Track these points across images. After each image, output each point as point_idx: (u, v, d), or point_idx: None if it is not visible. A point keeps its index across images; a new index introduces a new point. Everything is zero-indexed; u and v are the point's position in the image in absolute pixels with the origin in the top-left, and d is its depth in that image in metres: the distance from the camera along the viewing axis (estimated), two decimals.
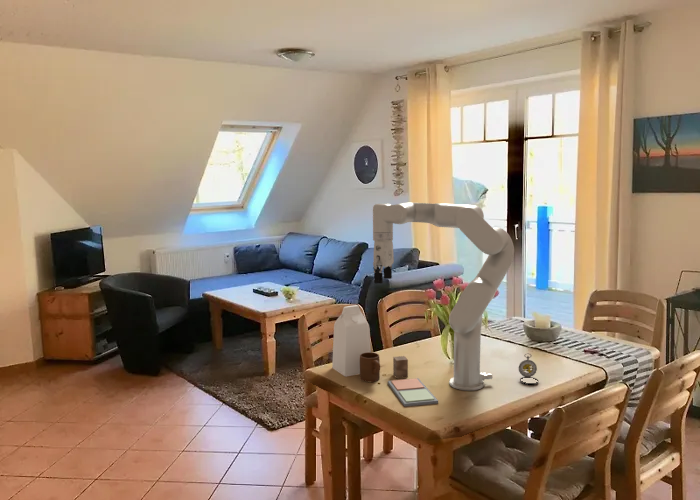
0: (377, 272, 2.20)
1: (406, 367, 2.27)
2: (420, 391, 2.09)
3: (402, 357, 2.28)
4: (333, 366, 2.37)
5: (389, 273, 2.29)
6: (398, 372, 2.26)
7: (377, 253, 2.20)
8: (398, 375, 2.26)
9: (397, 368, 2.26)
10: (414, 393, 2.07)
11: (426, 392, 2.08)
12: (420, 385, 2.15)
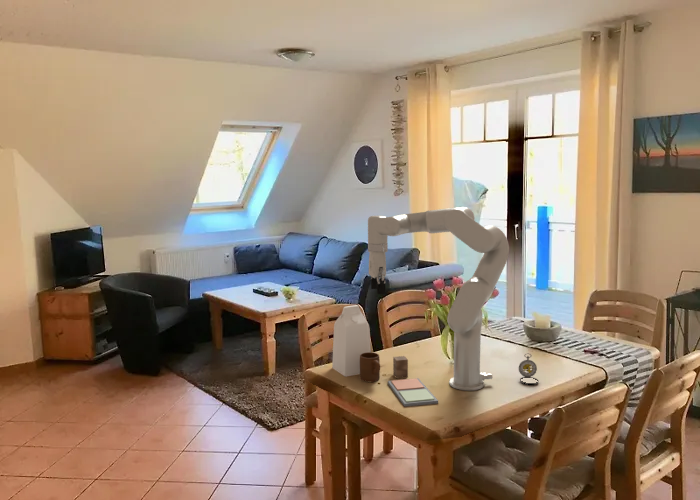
0: None
1: (406, 367, 2.27)
2: (420, 391, 2.09)
3: (402, 357, 2.28)
4: (333, 366, 2.37)
5: None
6: (398, 372, 2.26)
7: None
8: (398, 375, 2.26)
9: (397, 368, 2.26)
10: (414, 393, 2.07)
11: (426, 392, 2.08)
12: (420, 385, 2.15)
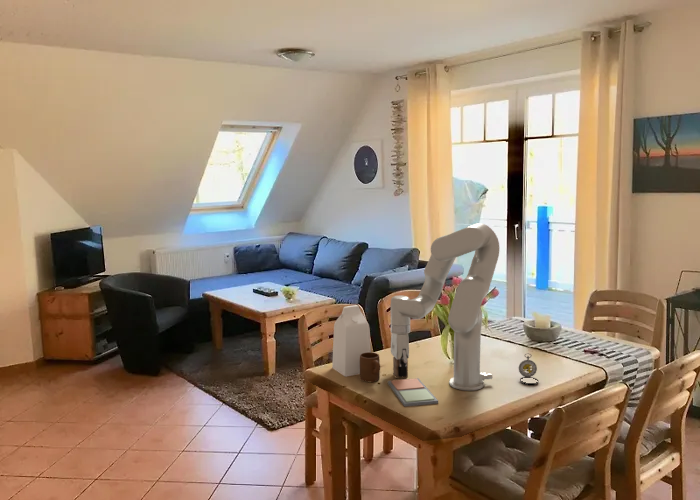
0: None
1: None
2: (420, 391, 2.09)
3: (402, 357, 2.28)
4: (333, 366, 2.37)
5: None
6: None
7: None
8: None
9: (397, 368, 2.26)
10: (414, 393, 2.07)
11: (426, 392, 2.08)
12: (420, 385, 2.15)
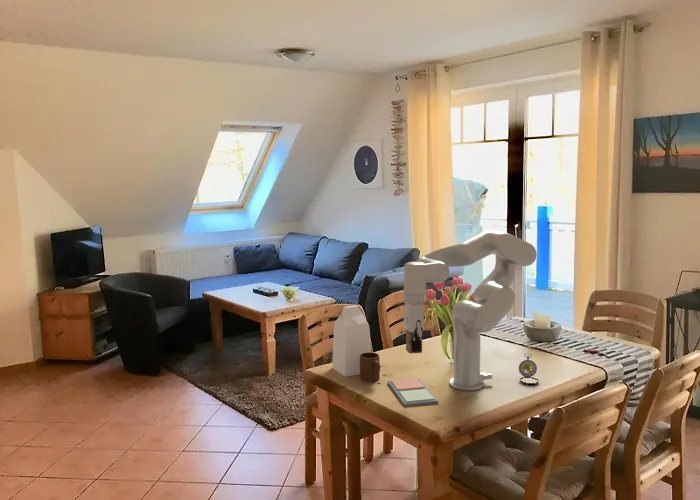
0: None
1: None
2: (420, 391, 2.09)
3: None
4: (333, 366, 2.37)
5: None
6: (411, 347, 2.03)
7: None
8: (411, 350, 2.03)
9: (410, 342, 2.03)
10: (414, 393, 2.07)
11: (426, 392, 2.08)
12: (420, 385, 2.15)
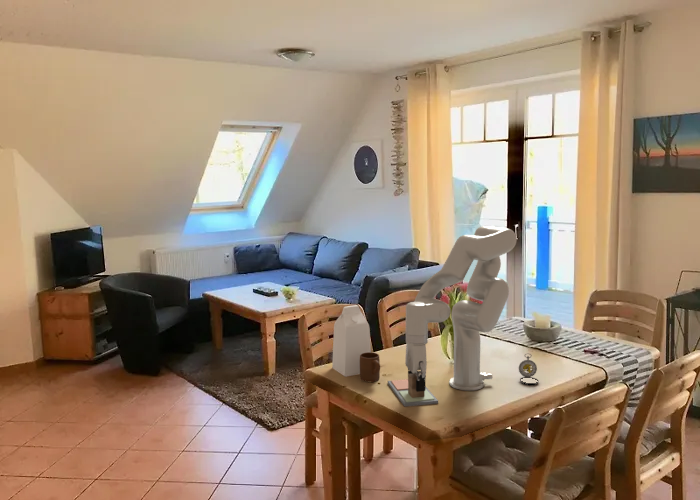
0: None
1: None
2: None
3: None
4: (333, 366, 2.37)
5: None
6: (414, 391, 2.03)
7: None
8: (414, 394, 2.03)
9: (413, 387, 2.03)
10: None
11: (426, 392, 2.08)
12: None
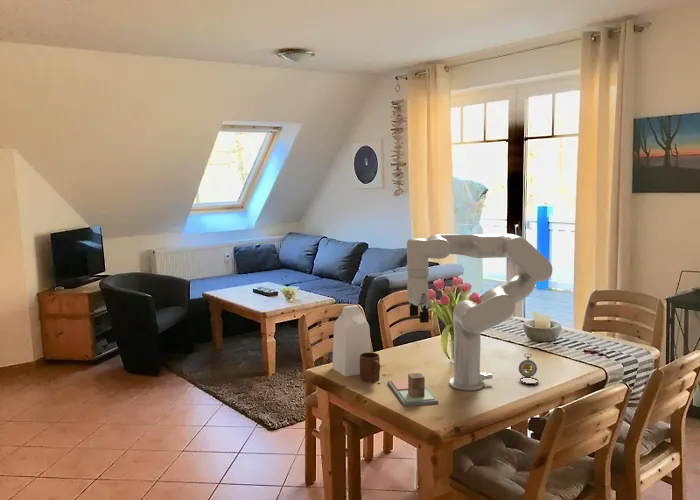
0: None
1: (423, 386, 2.03)
2: None
3: (418, 375, 2.05)
4: (333, 366, 2.37)
5: None
6: (414, 391, 2.03)
7: None
8: (414, 394, 2.03)
9: (413, 387, 2.03)
10: None
11: (426, 392, 2.08)
12: None
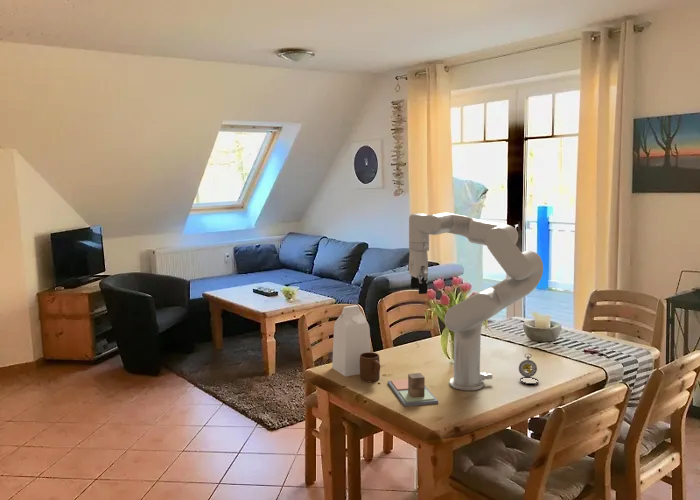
0: None
1: (423, 386, 2.03)
2: None
3: (418, 375, 2.05)
4: (333, 366, 2.37)
5: None
6: (414, 391, 2.03)
7: None
8: (414, 394, 2.03)
9: (413, 387, 2.03)
10: None
11: (426, 392, 2.08)
12: None
